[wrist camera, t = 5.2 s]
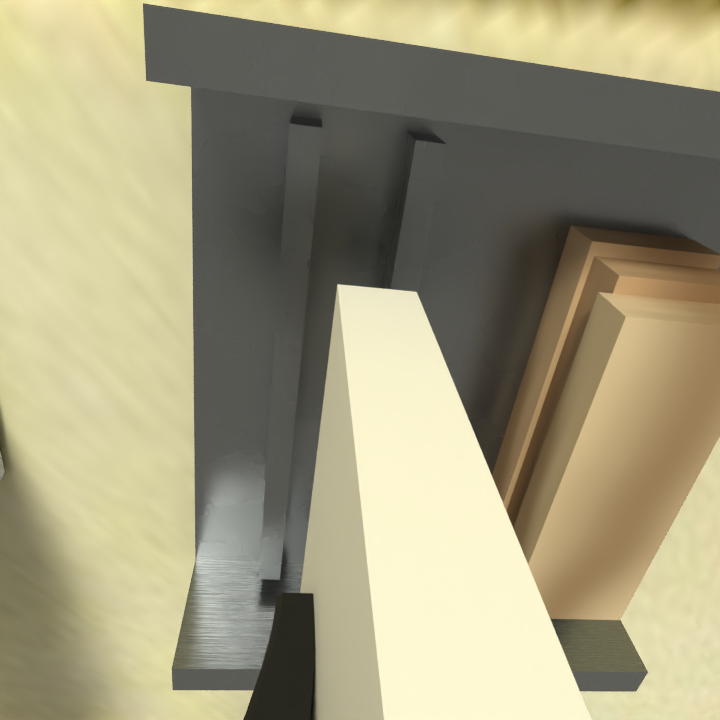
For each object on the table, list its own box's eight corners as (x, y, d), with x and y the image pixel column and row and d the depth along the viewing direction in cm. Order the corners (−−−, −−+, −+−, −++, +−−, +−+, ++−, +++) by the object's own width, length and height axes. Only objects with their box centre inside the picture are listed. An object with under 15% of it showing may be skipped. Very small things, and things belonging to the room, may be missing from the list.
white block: (290, 673, 16) (274, 1195, 9) (337, 284, 11) (399, 859, 3) (342, 674, 17) (368, 1185, 9) (416, 291, 11) (643, 849, 3)
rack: (200, 557, 24) (172, 690, 19) (198, 13, 15) (142, 3, 10) (575, 569, 27) (635, 691, 22) (786, 103, 17) (982, 132, 12)
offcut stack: (473, 519, 23) (506, 619, 19) (564, 224, 17) (640, 281, 13) (576, 524, 23) (629, 622, 20) (699, 240, 18) (809, 299, 14)
